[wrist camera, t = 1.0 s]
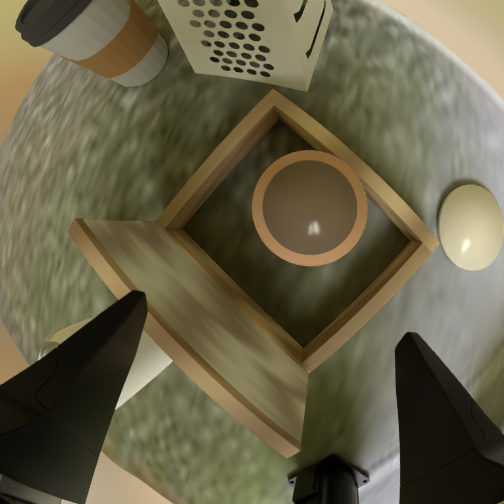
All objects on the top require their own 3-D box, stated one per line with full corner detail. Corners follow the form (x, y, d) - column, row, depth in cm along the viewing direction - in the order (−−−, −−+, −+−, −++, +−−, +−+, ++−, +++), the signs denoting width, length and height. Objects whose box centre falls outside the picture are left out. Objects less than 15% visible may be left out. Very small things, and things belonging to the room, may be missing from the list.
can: (116, 322, 27) (25, 363, 15) (152, 282, 25) (52, 314, 14) (158, 373, 26) (80, 437, 14) (200, 338, 25) (120, 407, 13)
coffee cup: (105, 66, 25) (13, 11, 11) (163, 21, 23) (86, -57, 9) (124, 112, 25) (8, 56, 10) (192, 62, 23) (100, -35, 8)
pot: (368, 213, 21) (391, 206, 14) (313, 272, 22) (311, 290, 15) (309, 158, 22) (304, 127, 15) (255, 216, 23) (228, 210, 16)
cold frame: (425, 240, 20) (510, 250, 9) (302, 363, 23) (286, 458, 12) (278, 104, 22) (245, 15, 10) (167, 229, 25) (67, 231, 13)
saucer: (511, 228, 18) (514, 228, 17) (469, 287, 19) (473, 288, 19) (467, 168, 19) (470, 167, 18) (421, 227, 20) (424, 227, 20)
